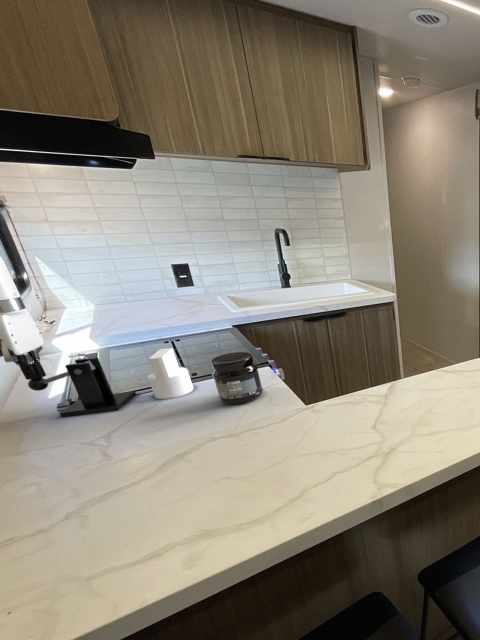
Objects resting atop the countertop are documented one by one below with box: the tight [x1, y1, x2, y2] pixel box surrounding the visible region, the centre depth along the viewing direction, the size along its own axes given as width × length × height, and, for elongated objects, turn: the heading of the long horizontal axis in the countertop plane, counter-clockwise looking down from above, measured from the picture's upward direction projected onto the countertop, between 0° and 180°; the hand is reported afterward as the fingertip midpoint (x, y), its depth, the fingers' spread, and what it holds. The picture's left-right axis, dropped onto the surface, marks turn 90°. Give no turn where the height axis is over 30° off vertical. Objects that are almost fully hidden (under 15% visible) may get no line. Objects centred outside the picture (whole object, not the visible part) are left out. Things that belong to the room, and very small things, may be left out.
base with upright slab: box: [147, 347, 194, 400], centre depth 114 cm, size 9×9×12 cm
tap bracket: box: [59, 356, 137, 418], centre depth 106 cm, size 12×10×13 cm
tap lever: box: [27, 361, 96, 392], centre depth 104 cm, size 14×3×3 cm, turn 108°
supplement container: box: [210, 351, 264, 406], centre depth 110 cm, size 10×10×12 cm
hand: (36, 377), depth 102 cm, fingers closed
